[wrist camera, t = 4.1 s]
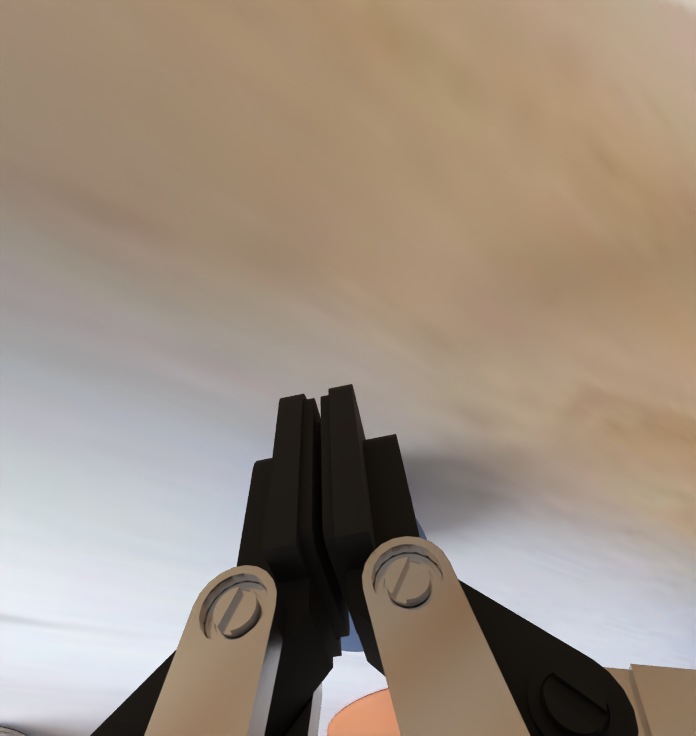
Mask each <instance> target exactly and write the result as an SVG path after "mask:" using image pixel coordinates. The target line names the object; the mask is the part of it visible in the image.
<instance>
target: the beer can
mask: <svg viewBox="0 0 696 736" xmlns="http://www.w3.org/2000/svg"><path fill="white" fill-rule="evenodd" d="M0 736H25V735H24V734H22V733H20V732H17V731H14V730H11V729H7V728H2V727H0Z"/></svg>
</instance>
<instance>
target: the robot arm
mask: <svg viewBox="0 0 696 736" xmlns="http://www.w3.org/2000/svg"><path fill="white" fill-rule="evenodd" d="M349 613H350V616H351V619H352V621H353V624H354V627H355V630H356V632H357V635H358V636H359V639H360V642H361V644H362V647H363V650H364V653H365V656H366V658H367V661H368V662H369V663H370V664H371V665H372V666H373V667H375V668H376V669H377V670H378V671H379V672H381V673H382V674H383V675H384V676H385V677H386V680H387V684H388V688H389V692H390V696H391V700H392V704H393V708H394V711H395V715H396V719H397V723H398V727H399V731H400V735H401V736H696V670H692V669H681V668H670V667H659V666H648V665H637V664H630V668H629V670H628V669H617V668H606V667H602V666H601V665H599V664H598V663H597V662H595V661H594V660H593V659H591V658H589V657H588V656H586V655H584V654H583V653H581V652H579V651H578V650H576V649H574V648H573V647H571V646H569V645H568V644H566V643H564V642H563V641H561V640H559V639H558V638H556V637H554V636H552V635H551V634H549V633H547V632H546V631H544V630H542V629H541V628H539V627H537V626H536V625H534V624H532V623H531V622H529V621H527V620H526V619H524V618H522V617H521V616H519V615H517V614H516V613H514V612H512V611H510V610H509V609H507V608H505V607H504V606H502V605H500V604H499V603H497V602H495V601H494V600H492V599H490V598H489V597H487V596H485V595H484V594H482V593H480V592H479V591H477V590H475V589H473V588H472V587H470V586H468V585H467V584H465V583H463V582H462V581H460V580H458V579H457V576H456V574H455V572H454V570H453V568H452V566H451V563H450V561H449V560H448V558H447V557H446V555H445V554H444V552H443V551H442V550H441V549H440V548H438V547H437V546H436V545H435V544H433V543H432V542H430V541H427V540H425V539H422V538H420V536H419V531H418V527H417V523H416V518H415V514H414V510H413V505H412V501H411V497H410V492H409V488H408V484H407V479H406V475H405V471H404V466H403V462H402V458H401V453H400V449H399V445H398V440H397V436H396V434H393V435H388V436H383V437H378V438H373V439H368V440H366V439H365V435H364V431H363V427H362V422H361V418H360V414H359V410H358V405H357V401H356V397H355V393H354V389H353V385H352V384H350V385H345V386H340V387H335V388H330V389H329V395H327V396H322V397H321V418H320V414H319V411H318V408H317V404H316V401H315V399H314V398H312V399H306V396H305V395H304V394H300V395H295V396H290V397H285V398H281V399H280V400H279V407H278V416H277V424H276V432H275V441H274V449H273V458H269V459H264V460H259V461H256V462H255V464H254V467H253V472H252V478H251V484H250V490H249V496H248V502H247V508H246V514H245V520H244V526H243V532H242V538H241V544H240V550H239V556H238V562H237V567H233V568H231V569H229V570H227V571H225V572H223V573H221V574H219V575H218V576H217V577H216V578H214V579H213V580H212V581H210V582H209V583H208V584H207V586H206V587H205V588H204V589H203V590H202V592H201V593H200V594H199V596H198V598H197V600H196V602H195V604H194V605H193V608H192V610H191V613H190V616H189V618H188V621H187V624H186V626H185V629H184V631H183V634H182V637H181V639H180V642H179V645H178V647H177V649H176V650H175V651H174V652H173V653H172V654H171V655H170V656H169V657H168V658H167V659H166V660H165V661H164V662H163V663H162V664H161V665H160V666H159V667H158V668H157V669H156V670H155V671H154V672H153V673H152V674H151V675H150V676H149V677H148V678H147V679H146V680H145V681H144V682H143V683H142V684H141V685H140V686H139V687H138V688H137V689H136V690H135V691H134V692H133V693H132V694H131V695H130V696H129V697H128V698H127V699H126V700H125V701H124V702H123V703H122V704H121V705H120V706H119V707H118V708H117V709H116V710H115V711H114V712H113V713H112V714H111V715H110V716H109V717H108V718H107V719H106V720H105V721H104V722H103V723H102V724H101V725H100V726H99V727H98V728H97V729H96V730H95V731H94V732H93V733H92V734H91V735H90V736H318V727H319V719H320V710H321V701H322V681H323V680H324V679H325V677H326V676H327V675H328V673H329V672H330V671H331V669H332V668H333V657H336V656H342V653H341V637H346V636H349V635H350V623H349Z"/></svg>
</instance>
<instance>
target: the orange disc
mask: <svg viewBox="0 0 696 736" xmlns="http://www.w3.org/2000/svg"><path fill="white" fill-rule="evenodd" d="M327 736H401V735H400V731H399V727H398V723H397V719H396V715H395V711H394V708H393V704H392V700H391V696H390V692H389V688H388V689H385V690H382V691H378V692H376V693H373V694H370V695H368V696H365V697H363V698H361V699H359V700H357V701H355V702H353V703H352V704H350V705H348V706H347V707H345V708H344V709H343V710H341V711H340V712H339V713H338V714H337V715H336V716H335V717H334V718H333V719H332V721H331V722H330V724H329V726H328V730H327Z"/></svg>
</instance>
